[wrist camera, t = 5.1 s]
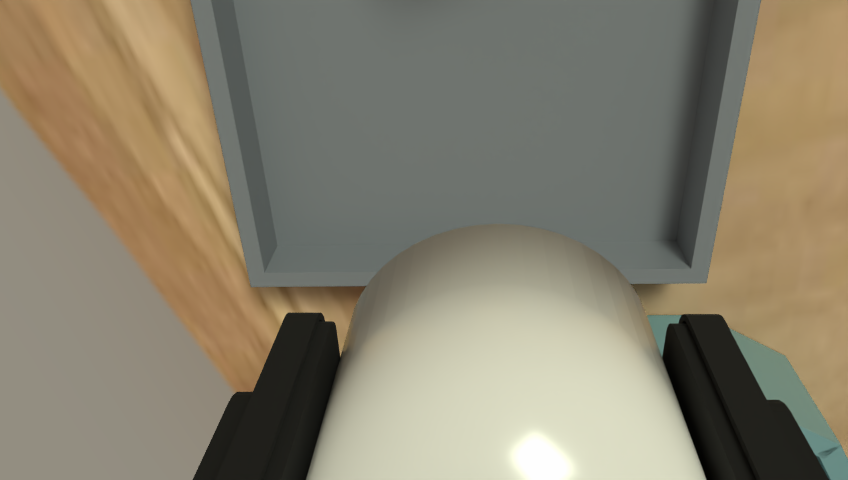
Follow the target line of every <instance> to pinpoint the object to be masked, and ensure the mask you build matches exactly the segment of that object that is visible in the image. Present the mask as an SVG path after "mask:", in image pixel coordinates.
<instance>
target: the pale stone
mask: <svg viewBox="0 0 848 480" xmlns="http://www.w3.org/2000/svg"><path fill="white" fill-rule="evenodd" d="M306 480H707V479H706V477H705V474H704V471H703V468H702V466H701V463H700V460H699V457H698V455H697V452H696V449H695V446H694V444H693V441H692V438H691V435H690V433H689V430H688V427H687V424H686V422H685V419H684V416H683V413H682V411H681V408H680V405H679V402H678V400H677V397H676V394H675V391H674V389H673V386H672V383H671V381H670V378H669V375H668V372H667V370H666V367H665V364H664V361H663V359H662V356H661V353H660V350H659V348H658V345H657V342H656V339H655V337H654V334H653V331H652V328H651V326H650V323H649V320H648V317H647V315H646V312H645V309H644V307H643V305H642V303H641V301H640V299H639V297H638V295H637V293H636V291H635V290H634V289H633V287H632V286H631V284H630V283H629V281H628V280H627V279H626V278H625V277H624V275H623V274H622V273H621V272H620V271H619V270H618V269H617V268H616V267H615V266H614V265H613V264H612V263H610V262H609V261H608V260H606V259H605V258H604V257H603V256H601V255H600V254H599V253H597V252H596V251H594V250H592V249H591V248H589V247H587V246H586V245H584V244H582V243H580V242H578V241H576V240H573V239H571V238H569V237H566V236H564V235H561V234H558V233H555V232H551V231H548V230H544V229H541V228H535V227H529V226H523V225H511V224H487V225H474V226H468V227H463V228H457V229H453V230H450V231H446V232H443V233H440V234H437V235H434V236H431V237H429V238H427V239H425V240H422V241H420V242H418V243H416V244H414V245H412V246H411V247H409V248H407V249H406V250H404V251H402V252H401V253H399V254H398V255H396V256H395V257H394V258H393V259H391V260H390V261H389V262H388V263H387V264H385V265H384V266H383V267H382V268H381V269H380V270H379V271H378V272H377V274H376V275H375V276H374V277H373V278H372V279H371V280H370V282H369V283H368V285H367V286H366V288H365V289H364V291H363V292H362V293H361V296H360V298H359V300H358V302H357V304H356V306H355V308H354V311H353V315H352V318H351V322H350V325H349V329H348V332H347V336H346V339H345V343H344V347H343V350H342V354H341V357H340V361H339V364H338V368H337V371H336V375H335V378H334V382H333V386H332V389H331V393H330V396H329V400H328V403H327V407H326V410H325V414H324V418H323V421H322V425H321V428H320V432H319V435H318V439H317V442H316V446H315V449H314V453H313V457H312V460H311V464H310V467H309V471H308V474H307V478H306Z"/></svg>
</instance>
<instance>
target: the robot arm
mask: <svg viewBox="0 0 848 480" xmlns="http://www.w3.org/2000/svg"><path fill="white" fill-rule="evenodd" d="M662 359H663V361H664V364H665V367H666V370H667V372H668V375H669V378H670V381H671V383H672V386H673V389H674V391H675V394H676V397H677V400H678V402H679V405H680V408H681V411H682V413H683V416H684V419H685V422H686V424H687V427H688V430H689V433H690V435H691V438H692V441H693V444H694V446H695V449H696V452H697V455H698V457H699V460H700V463H701V466H702V468H703V471H704V474H705V477H706V479H707V480H829V479H828V477H827V475H826V473H825V472H824V470H823V468H822V466H821V464H820V463H819V461H818V459H817V457H816V456H815V454H814V452H813V450H812V448H811V447H810V445H809V443H808V441H807V439H806V438H805V436H804V434H803V432H802V431H801V429H800V427H799V425H798V423H797V422H796V420H795V418H794V416H793V414H792V413H791V411H790V410H789V408H788V407H787V406H786V404H785V403H783V402H782V401H780V400H767V399H766V397H765V395H764V393H763V392H762V390H761V388H760V386H759V384H758V382H757V380H756V378H755V376H754V375H753V373H752V371H751V369H750V367H749V365H748V363H747V361H746V359H745V358H744V356H743V354H742V352H741V350H740V348H739V346H738V344H737V342H736V340H735V339H734V337H733V335H732V333H731V331H730V329H729V327H728V325H727V323H726V322H725V320H724V318H723V317H722V316H721V315H719V314H683V315H682V316H681V317H680V319H679V323H670V324H669V325H668V327H667V330H666V336H665V343H664V349H663V355H662ZM339 361H340V353H339V345H338V338H337V330H336V325H335V323H334V322H325V320H324V316H323V314H322V313H288V314H286V316H285V318H284V320H283V323H282V325H281V327H280V330H279V332H278V334H277V337H276V339H275V341H274V344H273V346H272V348H271V351H270V353H269V355H268V358H267V360H266V363H265V365H264V367H263V370H262V372H261V374H260V377H259V379H258V381H257V384H256V386H255V388H254V391H253V392H237V393H235V394H234V395H233V396H232V398H231V399H230V401H229V403H228V405H227V407H226V409H225V411H224V414H223V416H222V418H221V420H220V422H219V424H218V426H217V429H216V431H215V433H214V435H213V438H212V439H211V442H210V444H209V446H208V448H207V450H206V452H205V455H204V457H203V459H202V461H201V463H200V465H199V467H198V470H197V472H196V474H195V476H194V478H193V480H306V478H307V474H308V471H309V467H310V464H311V460H312V457H313V453H314V449H315V446H316V442H317V439H318V435H319V432H320V428H321V425H322V421H323V418H324V414H325V410H326V407H327V403H328V400H329V396H330V393H331V389H332V386H333V382H334V378H335V375H336V371H337V368H338V364H339Z"/></svg>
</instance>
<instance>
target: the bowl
mask: <svg viewBox="0 0 848 480" xmlns="http://www.w3.org/2000/svg"><path fill="white" fill-rule="evenodd" d="M681 316H682V315H647V317H648V320H649V323H650V326H651V328H652V331H653V334H654V337H655V339H656V342H657V345H658V348H659V350H660V353H661V356H662V355H663V349H664V343H665V336H666V330H667V327H668V325H669V324H670V323H679V319H680V317H681ZM729 329H730V328H729ZM730 331H731V333H732V335H733V337H734V339H735V340H736V342H737V344H738V346H739V348H740V350H741V352H742V354H743V356H744V358H745V359H746V361H747V363H748V365H749V367H750V369H751V371H752V373H753V375H754V376H755V378H756V380H757V382H758V384H759V386H760V388H761V390H762V392H763V393H764V395H765V397H766V399H767V400H780V401H782V402H783V403H785V404H786V406H787V407H788V408H789V410H790V411H791V413H792V414H793V416H794V418H795V420H796V422H797V423H798V425H799V427H800V429H801V431H802V432H803V434H804V436H805V438H806V439H807V441H808V443H809V445H810V447H811V448H812V450H813V452H814V454H815V456H816V457H817V459H818V461H819V463H820V464H821V466H822V468H823V470H824V472H825V473H826V475H827V477H828V479H829V480H848V459H847V457H846V455H845V453H844V451H843V449H842V446H841V444H840V443H839V441H838V440H837V438H836V436H835V435H834V433H833V432H832V430H831V428H830V427H829V425H828V424H827V422H826V420H825V419H824V417H823V416H822V414H821V412H820V411H819V409H818V408H817V406H816V404H815V403H814V401H813V400H812V398H811V396H810V395H809V393H808V392H807V390H806V388H805V387H804V385H803V384H802V382H801V380H800V379H799V377H798V376H797V374H796V372H795V371H794V369H793V368H792V366H791V364H790V363H789V361H788V360H787V358H786V356H784V355H782V354H780V353H778V352H776V351H774V350H772V349H770V348H768V347H766V346H764V345H762V344H760V343H758V342H756V341H754V340H752V339H750V338H748V337H746V336H744V335H742V334H740V333H738V332H736V331H734V330H732V329H730Z"/></svg>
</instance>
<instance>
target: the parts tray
mask: <svg viewBox="0 0 848 480" xmlns="http://www.w3.org/2000/svg"><path fill="white" fill-rule="evenodd" d="M760 3H761V0H191V5H192V9H193V14H194V19H195V24H196V28H197V33H198V38H199V43H200V47H201V52H202V57H203V62H204V66H205V71H206V76H207V81H208V85H209V90H210V95H211V100H212V104H213V109H214V114H215V119H216V123H217V128H218V133H219V138H220V142H221V147H222V152H223V157H224V161H225V166H226V171H227V176H228V181H229V185H230V190H231V195H232V200H233V204H234V209H235V214H236V219H237V223H238V228H239V233H240V238H241V242H242V247H243V252H244V257H245V261H246V266H247V271H248V276H249V280H250V285H251V287H315V286H367V285H368V283H369V282H370V280H371V279H372V278H373V277H374V276H375V275H376V274H377V272H378V271H379V270H380V269H381V268H382V267H383V266H384V265H385V264H387V263H388V262H389V261H390V260H391V259H393V258H394V257H395V256H396V255H398V254H399V253H401V252H402V251H404V250H406V249H407V248H409V247H411V246H412V245H414V244H416V243H418V242H420V241H422V240H425V239H427V238H429V237H431V236H434V235H437V234H440V233H443V232H446V231H450V230H453V229H457V228H463V227H468V226H474V225H487V224H511V225H523V226H529V227H535V228H541V229H544V230H548V231H551V232H555V233H558V234H561V235H564V236H566V237H569V238H571V239H573V240H576V241H578V242H580V243H582V244H584V245H586V246H587V247H589V248H591V249H592V250H594V251H596V252H597V253H599V254H600V255H601V256H603V257H604V258H605V259H606V260H608V261H609V262H610V263H612V264H613V265H614V266H615V267H616V268H617V269H618V270H619V271H620V272H621V273H622V274H623V275H624V277H625V278H626V279H627V280H628V281H629V283H630V284H675V283H707V278H708V272H709V267H710V262H711V257H712V252H713V246H714V241H715V236H716V231H717V226H718V221H719V215H720V210H721V205H722V200H723V195H724V189H725V184H726V179H727V174H728V169H729V163H730V158H731V153H732V148H733V143H734V138H735V132H736V127H737V122H738V117H739V112H740V106H741V101H742V96H743V91H744V86H745V81H746V75H747V70H748V65H749V60H750V55H751V49H752V44H753V39H754V34H755V29H756V24H757V18H758V13H759V8H760Z"/></svg>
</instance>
